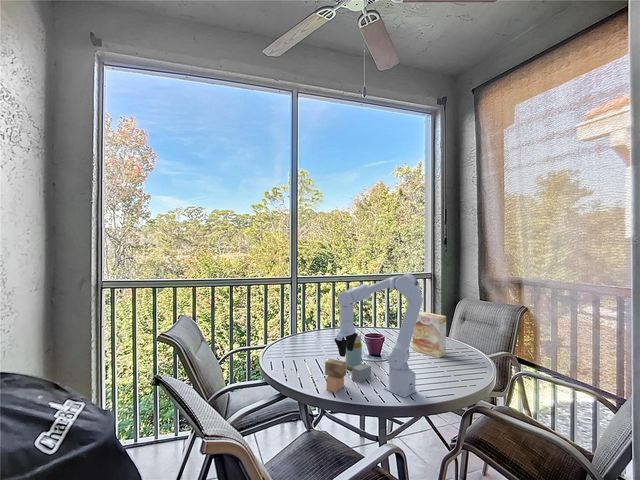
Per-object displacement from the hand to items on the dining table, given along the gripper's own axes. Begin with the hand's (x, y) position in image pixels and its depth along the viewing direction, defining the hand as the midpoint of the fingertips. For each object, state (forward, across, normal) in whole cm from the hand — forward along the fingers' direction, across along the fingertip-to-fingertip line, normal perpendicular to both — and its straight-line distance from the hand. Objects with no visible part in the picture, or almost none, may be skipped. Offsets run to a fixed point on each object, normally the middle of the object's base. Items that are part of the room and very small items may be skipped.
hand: (346, 353), depth 138 cm
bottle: (+11, -12, -2) cm, 16 cm away
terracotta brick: (+10, +10, 0) cm, 14 cm away
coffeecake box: (+11, -50, +24) cm, 56 cm away
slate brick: (+10, -3, +5) cm, 12 cm away
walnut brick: (+6, +10, 0) cm, 11 cm away
